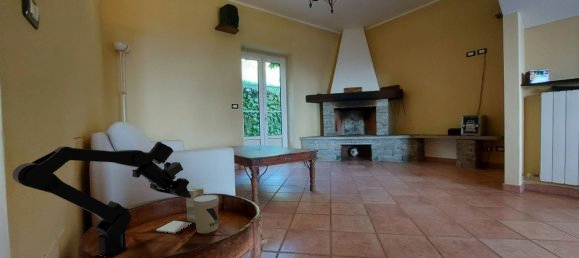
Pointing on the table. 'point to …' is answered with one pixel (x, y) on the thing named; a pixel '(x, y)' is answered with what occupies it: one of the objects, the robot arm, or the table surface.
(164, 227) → the ceramic tile
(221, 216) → the table surface
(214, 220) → the coffee cup
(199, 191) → the letter block
